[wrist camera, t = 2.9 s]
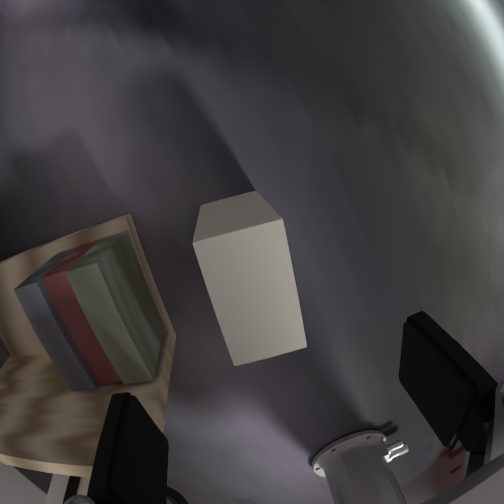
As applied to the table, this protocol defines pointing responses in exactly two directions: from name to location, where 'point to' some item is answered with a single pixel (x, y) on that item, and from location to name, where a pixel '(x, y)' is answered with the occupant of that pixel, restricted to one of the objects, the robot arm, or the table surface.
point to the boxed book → (249, 277)
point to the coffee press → (76, 485)
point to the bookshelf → (78, 345)
